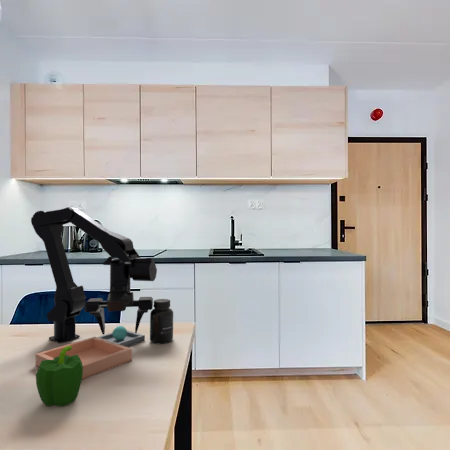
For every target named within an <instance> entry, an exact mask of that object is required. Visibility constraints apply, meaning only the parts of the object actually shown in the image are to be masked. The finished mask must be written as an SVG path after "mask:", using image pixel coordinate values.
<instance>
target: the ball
mask: <svg viewBox="0 0 450 450" xmlns="http://www.w3.org/2000/svg"><path fill="white" fill-rule="evenodd" d="M127 331H128V330H127V328H126V327H124V325H123V326H122V325H119V326H116V327H115V328H114V329H113V331H112V333H113V337H114V338H115V339H116V340H123V339H124V338H125V337H126V335H127Z"/></svg>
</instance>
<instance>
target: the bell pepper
mask: <svg viewBox="0 0 450 450" xmlns="http://www.w3.org/2000/svg"><path fill="white" fill-rule="evenodd" d="M71 349H72V347H71V346H66V347H65V348H63V349H62V351H61V352H60V356H58V357H55V358H54V359H53V360H44V361H41V364H40V366H39V368H38V367H37V371H36V373H35V385H36V388H37V392H38V395H39V399H40V400H41V402H42V403H43V404H44V406H46V407H51V406H52V407H53V406H56V407H64V406H65V407H66V406H69V405H70V404H72V403H73V402H75V401H76V399H77V398H78V396H79V392H80V389H81V386H82V381H83V380H82V376H83V365H82V362H81V360H80V358H79V356H78V355H73V356H68V355H65V353H66V352H67V351H70V350H71Z"/></svg>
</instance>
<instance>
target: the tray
mask: <svg viewBox="0 0 450 450" xmlns="http://www.w3.org/2000/svg"><path fill="white" fill-rule="evenodd" d="M96 337H97V338H100V339H104V340H107V341H110V342H113V343H116V344H119V345H122V346H125V347H128V348H129V347H131V346H133V345H136V344H139V343H142V342H144V341H145V338H146V336H145V334H141V333H138V332H137V333H135V331H130V330H127V335H126V337H125V338H124V339H123V340H116V339H115V338H114V337H113V332H110V333H107V334H104V335H103V334H102V335H99V336H96Z"/></svg>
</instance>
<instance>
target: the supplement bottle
mask: <svg viewBox="0 0 450 450" xmlns="http://www.w3.org/2000/svg"><path fill="white" fill-rule="evenodd" d="M170 307H171V299H167V298H158V299H155V300H154V299H153V308H152V309H151V310H150V312H149V313H150V314H149V316H150V317H149V341H150V342H151V344H155V345H166V344H169V343H171V342H172V341H173V339H174V310H173V309H172V308H170Z"/></svg>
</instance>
